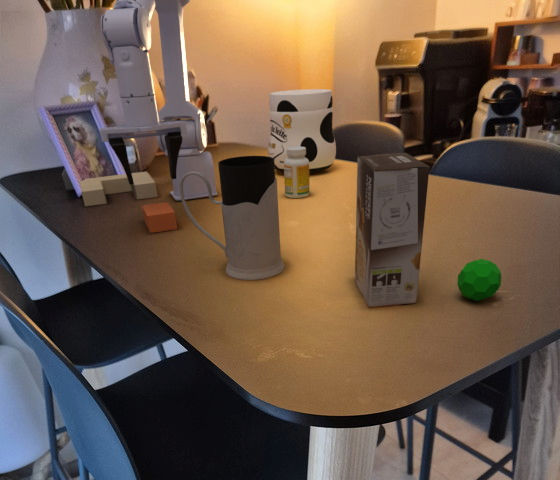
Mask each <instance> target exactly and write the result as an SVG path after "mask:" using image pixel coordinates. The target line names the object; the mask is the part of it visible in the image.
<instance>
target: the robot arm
mask: <svg viewBox="0 0 560 480" xmlns="http://www.w3.org/2000/svg"><path fill="white" fill-rule="evenodd" d="M190 2H191V0H115V3H114V5H113V7H112V9H107V10H105V12H104V13H103V14H102V15H101V17H100V31H101V32H100V33H101V38H102V41H103V43H104V46H105V48H106V50H107V53H108V57H109V61H110V64H111V65H112V66H114V67H113V68H114V71H115V77H116V82H117V87H118V88H117V89H118V92H119V97H120V103H121V106H122V107H121V108H122V113H123V118H124V125H117V126H110V127H109V126H108V127H101V128H99V130H98V131H99V134H100V139H101V142H102V143H108V144H109V146H110V147H111V149H112V151H113V152H114V153H115V155H116V157H117V159H118V160H119V162H120V164H121V166H122V168H123V170H124V172H125V173H124V174H126V175H127V178H128V182H129V184H130V185H131V184H134V182H133V177H132V174H131V173H132V170H131V166H130V161H129V156H128V150H127V145H126V143H125V141H124V140H131V139H142V138H149V137H156V142H157V145H158V148H159V149H160V150H161V151H162V152H163V153H164V155H165V156H167V157H168V158H167V159H168V168H169V175H170V178H171V183H172V191H169V195H171V197H172V198H173V199H174V201H176V202H179V201H180V202H181V201H182V199H181V194H180V182H181V179H182V177H183V176H184V175H185V174H187V173H189V172H199V173H201V174H203V175H204V176H205V177H206V178H207V179H208V181H209V183H210V186H211V191H212V197H215V196H218V195H219V194H218V191H217V190H218V189H217V183H216V182H217V181H216V174H215V173H216V172H215V165H214V160H213V156H212V154H211V152H210V151H205V149H206V148H207V146H208V133H207V126H206V123H205V115H204V113H203V111H202V110H201V109H199V108H198V107H197V106H195V105H194V104H193V103H192V102H191V101H190V91H189V78H188V67H187V55H186V43H185V29H184V8H185V6H187V4H189V3H190ZM155 11H156V14H157V17H158V27H159V28H158V29H159V36H160V37H159V38H160V48H161V59H162V69H163V79H164V80H163V81H164V89H165V90H164V91H165V98H166V99H165V100H166V103H165V104H164V105H163V106H162V107H161V108H160V109H159V110H158V105H157V99H156V91H155V86H154V80H153V73H152V68H151V67H152V66H151V61H150V54H149V51H150V49H151V48H152V24H151V21H152V18H153V16H154V12H155ZM178 119H180V120H178ZM183 192H184V197H185V201H186V200H193V199H194V200H195V199H200V198H209V194H208V189H207V186H206V183H205V182H204V180H203V179H202V178H201V177H199V176H198V175H189V176H187V177H186V178H185V179H184V182H183Z"/></svg>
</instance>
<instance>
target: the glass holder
mask: <svg viewBox="0 0 560 480" xmlns="http://www.w3.org/2000/svg"><path fill="white" fill-rule="evenodd" d="M217 164H218V174H219V184H220V192H221V201H219V200H215V198H214V196H212V191H211V186H210V183H209V181H208V179H207V178H206V177H205V176H204V175H203V174H201V173H199V172H189V173H187V174H185V175H184V176H183V177H182V179H181V182H180V194H181V199H182V200H181V204H182V206H183V208H184V211H185V213H186V215H187V216H188V218H189V220H190V221H191V222H192V224H193V225H194V227H195V228H196V229H197V230H198V231H200V232H201V233H202V234H203V235H204V236H206V238H208V239H209V240H211V241H212V242H213V243H214V244H216V245H217V246H219V248H221V249H222V250H223V251H224V254H225V258H226V259H227V263H226V264H227V265H226V267H225V273H226V275H228V276H229V277H231V278H232V279H233V278H234V279H236V280H237V279H238V280H244V281H256V280H264V279H268V278H269V279H270V278H272V277H275V276H277V275H279V274H281V273H282V272H284V270H285V264H284V262H283V260H282V253H281V251H282V250H281V234H280V213H279V195H278V179H277V177H276V169H275V161H274V158H272V157H269V155H268V156H266V155H241V156H235V157H228V158H225V159H222V160H219V161H218V162H217ZM189 175H198V176H199V177H201V178H202V179H203V180H204V182H205V183H206V186H207V189H208V194H209V197H208V198H209V200H210V202H211V203H212V204H214V205H219V206H221V213H222V223H223V231H224V232H223V233H224V240H225V245H224V243H222V242H221V241H220V240H218V239H217V238H215V236H213V235H212V234H210V233H209V232H208V231H206V229H204V228H203V227H202V226H201V225H200V223H198V221H197V220H196V219H195V218H194V216H193V214H192V212H191V211H190V209H189V206H188V203H187V202H186V200H185V197H184V192H183V182H184V179H185V178H186V177H187V176H189Z"/></svg>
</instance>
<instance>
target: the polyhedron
mask: <svg viewBox="0 0 560 480" xmlns="http://www.w3.org/2000/svg"><path fill="white" fill-rule="evenodd" d="M456 282H457V283H456V284H457V287H458V290H459V292H460V293H461V295H462V296H463V297H465V298H466V299H469V300H470V301H474V302H480V301H483V300H486V299H489V298H492V297H493V296H494V295H495V294H496V293H497V292H498V290H499V289H500V288H501V285H502V272H501V270H500V268H499V266H497V264H496V263H494V262H492V261H491V260H488V259H484V258H479V259H475V260H472V261H469V262H467V263H466V264H465V265H464V267H463V268H462V269H461V270H460V272H459V273H458V275H457V281H456Z"/></svg>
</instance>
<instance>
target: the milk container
mask: <svg viewBox="0 0 560 480" xmlns="http://www.w3.org/2000/svg"><path fill="white" fill-rule="evenodd" d="M333 101H334V99H333V91H332V89H326V88H322V89H321V88H307V89H305V88H304V89H291V90H289V89H288V90H280V91H272V92H270V94H269V104H268V106H269V124H270V136H269V142H268V148H267V153H268V157H272V158H274V161H275V171H279V172H282V173H284V161H285V160H286V159H287V158H288V156H287V148H289V147H297V146H300V147H305V148H306V155H305V158H307V159H308V160H309V174H310V173H316V172H321V171H323V170H326V169H329V168H330V167H331V166H332V165H334V163H335V160H336V155H337V145H336V139H335V134H334V129H333V128H334V127H333V119H334V117H333V116H334V115H333V113H334V109H333V106H334V105H333V103H334V102H333Z"/></svg>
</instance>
